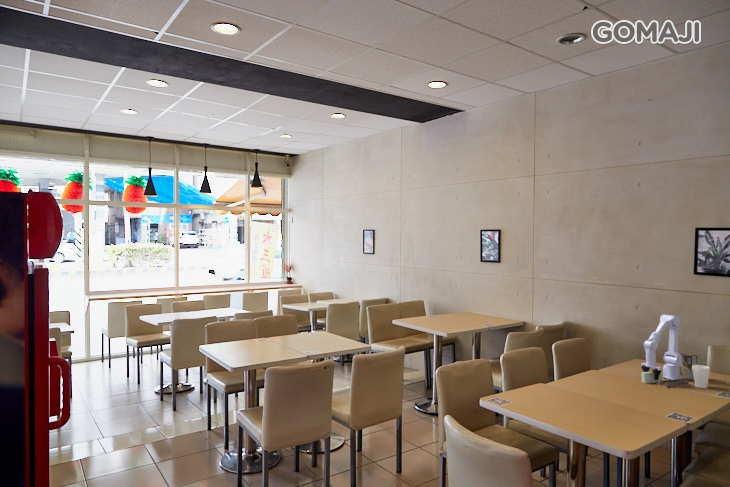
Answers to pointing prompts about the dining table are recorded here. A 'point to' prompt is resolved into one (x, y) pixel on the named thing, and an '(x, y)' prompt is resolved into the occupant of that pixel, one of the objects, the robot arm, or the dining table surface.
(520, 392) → the dining table surface
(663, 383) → the bottom track
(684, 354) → the coffee box
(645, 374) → the door panel
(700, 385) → the foam cup
